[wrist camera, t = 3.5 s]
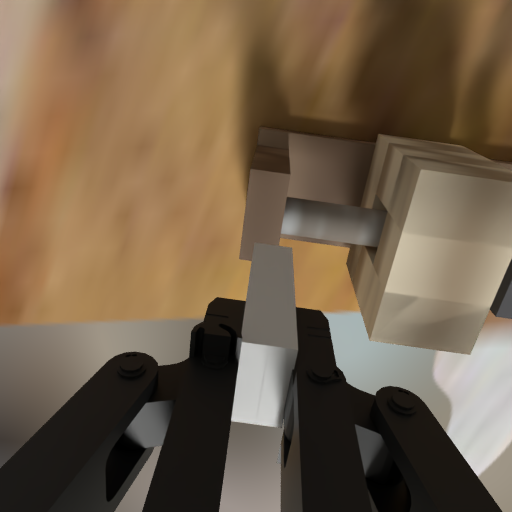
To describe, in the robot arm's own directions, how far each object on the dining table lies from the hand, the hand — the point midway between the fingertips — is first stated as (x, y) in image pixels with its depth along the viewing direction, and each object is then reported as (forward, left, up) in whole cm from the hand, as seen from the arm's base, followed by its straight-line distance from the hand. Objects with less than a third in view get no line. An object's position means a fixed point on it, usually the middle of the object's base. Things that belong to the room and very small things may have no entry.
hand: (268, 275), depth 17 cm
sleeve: (0, +8, -11) cm, 14 cm away
